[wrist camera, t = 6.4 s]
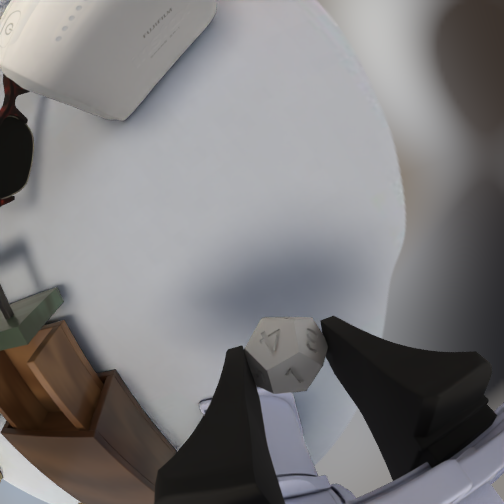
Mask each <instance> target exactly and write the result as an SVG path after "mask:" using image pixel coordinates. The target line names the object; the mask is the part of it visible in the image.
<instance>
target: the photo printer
mask: <svg viewBox="0 0 504 504" xmlns="http://www.w3.org/2000/svg"><path fill="white" fill-rule="evenodd" d="M216 8H217V0H11V1H10V3H9V4H8V6H7V8H6V9H5V11H4V13H3V15H2V17H1V19H0V67H1V70H2V71H3V73H4V75H5V76H6V77H8V78H10V79H11V80H13V81H14V82H15V83H17V84H18V85H19V86H21V87H22V88H24V89H26V90H28V91H31V92H34V93H37V94H40V95H42V96H45V97H48V98H51V99H54V100H56V101H59V102H62V103H65V104H67V105H70V106H73V107H75V108H78V109H81V110H83V111H86V112H88V113H91V114H94V115H96V116H99V117H101V118H104V119H108V120H120V121H124V120H125V119H126V118H127V117H129V116H130V115H131V114H132V113H133V111H134V110H135V109H136V108H137V107H138V106H139V105H140V103H141V102H142V101H143V100H144V99H145V97H146V96H147V95H148V94H149V92H150V91H151V90H152V89H153V88H154V86H155V85H156V84H157V83H158V82H159V81H160V79H161V78H162V77H163V76H164V75H165V73H166V72H167V71H168V70H169V69H170V68H171V66H172V65H173V64H174V63H175V62H176V61H177V60H178V58H179V57H180V56H181V55H182V54H183V53H184V52H185V50H186V49H187V48H188V47H189V46H190V45H191V44H192V43H193V42H194V40H195V39H196V38H197V37H198V36H199V35H200V34H201V33H202V32H203V31H204V29H205V28H206V27H207V26H208V25H209V23H210V22H211V20H212V19H213V17H214V16H215V13H216Z"/></svg>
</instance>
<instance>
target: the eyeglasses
mask: <svg viewBox="0 0 504 504" xmlns="http://www.w3.org/2000/svg"><path fill="white" fill-rule="evenodd" d="M1 17H2V16H1ZM1 17H0V19H1ZM3 85H4V91H5V98H4V103H3V106H2V108H1V110H0V207H1V206H2V205H4V204H7V203H9V202H11V201H13V200H14V199H15V196H12V195H14V194H16V193H17V192H19V191H20V190H22V189H23V188H24V186H25V185H26V184H27V181H28V179H29V175H30V171H31V167H32V161H33V152H34V139H33V135H32V132H31V130H30V128H29V127H28V125H27V124H26V123H27V121H28V119H27V118H26V117H25V116H24V115H23V114H22V113H21V112H20V111H19V110H18V109H17V108H16V106H15V100H16V97H17V96H18V95H20V94H24V93H27V92H30V91H28V90H26V89H24V88H22V87H21V86H19V85H18V84H17V83H15V82H14V81H13V80H11V79H10V78H8V77H6V76H5V75H4V74H3Z"/></svg>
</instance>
